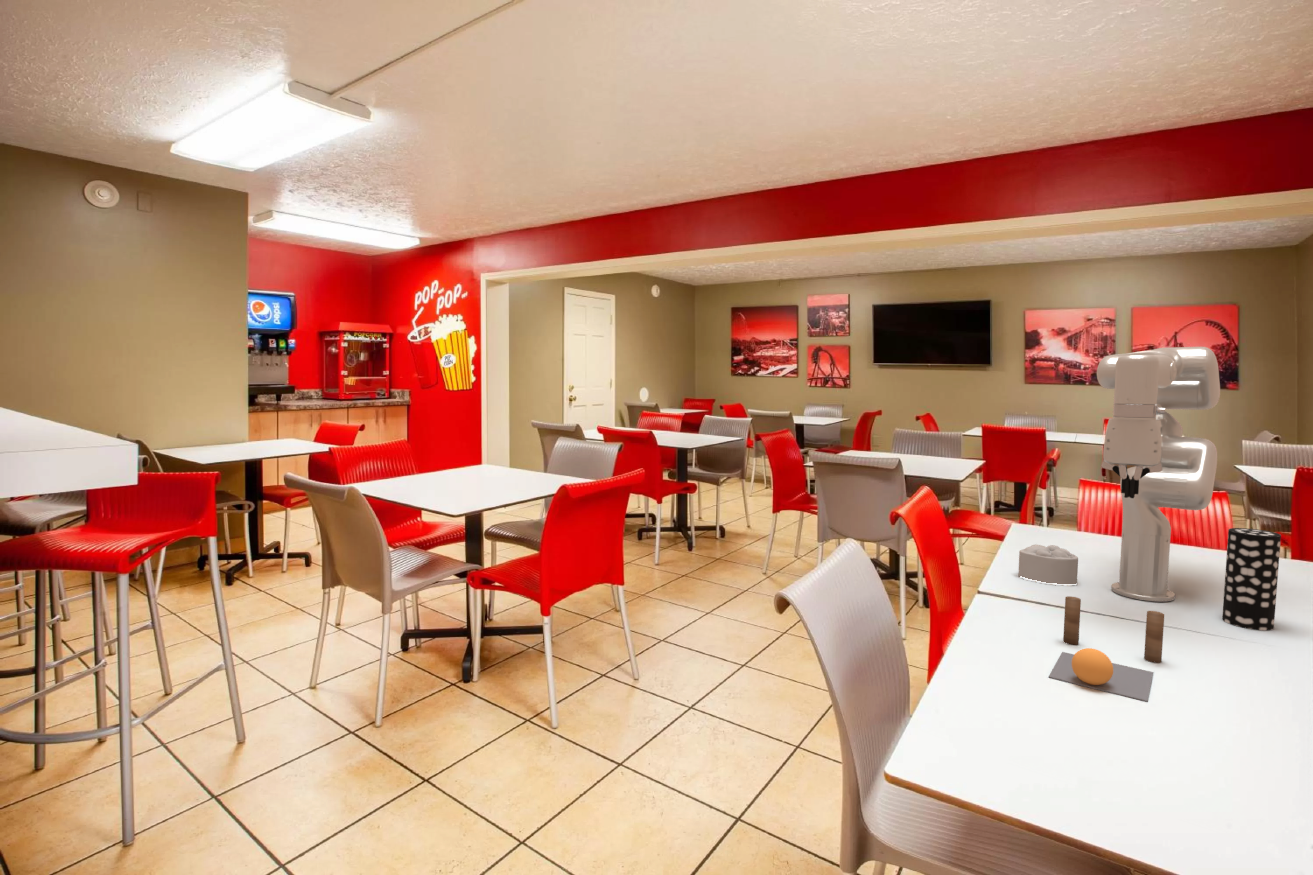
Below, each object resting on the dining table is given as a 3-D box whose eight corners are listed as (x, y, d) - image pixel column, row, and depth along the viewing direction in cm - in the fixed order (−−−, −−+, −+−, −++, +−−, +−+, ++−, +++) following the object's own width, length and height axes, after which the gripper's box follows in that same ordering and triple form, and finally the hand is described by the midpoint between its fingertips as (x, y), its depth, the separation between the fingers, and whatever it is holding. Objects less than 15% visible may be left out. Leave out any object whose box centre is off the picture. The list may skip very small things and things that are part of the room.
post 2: (1144, 655, 125) (1147, 609, 124) (1161, 659, 123) (1164, 612, 123) (1143, 660, 123) (1146, 613, 122) (1161, 664, 121) (1164, 616, 121)
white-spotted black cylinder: (1253, 617, 146) (1259, 528, 144) (1284, 631, 138) (1292, 537, 136) (1212, 615, 147) (1218, 527, 145) (1241, 629, 138) (1248, 536, 137)
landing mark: (1062, 652, 126) (1062, 651, 126) (1153, 673, 117) (1153, 672, 117) (1048, 677, 116) (1048, 676, 116) (1147, 701, 107) (1147, 700, 107)
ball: (1068, 686, 114) (1074, 662, 118) (1110, 697, 110) (1115, 672, 114) (1068, 660, 112) (1074, 636, 116) (1111, 670, 108) (1116, 646, 112)
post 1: (1064, 638, 133) (1066, 595, 133) (1079, 642, 132) (1081, 598, 131) (1062, 642, 131) (1064, 598, 131) (1077, 646, 130) (1079, 601, 129)
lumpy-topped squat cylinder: (1029, 570, 183) (1031, 540, 182) (1083, 581, 173) (1084, 549, 172) (1014, 577, 176) (1015, 546, 175) (1069, 589, 166) (1070, 555, 165)
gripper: (1179, 413, 139) (1173, 498, 141) (1095, 411, 149) (1090, 491, 150) (1178, 414, 134) (1172, 503, 135) (1090, 412, 143) (1086, 495, 145)
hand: (1129, 497), depth 143 cm, fingers closed
